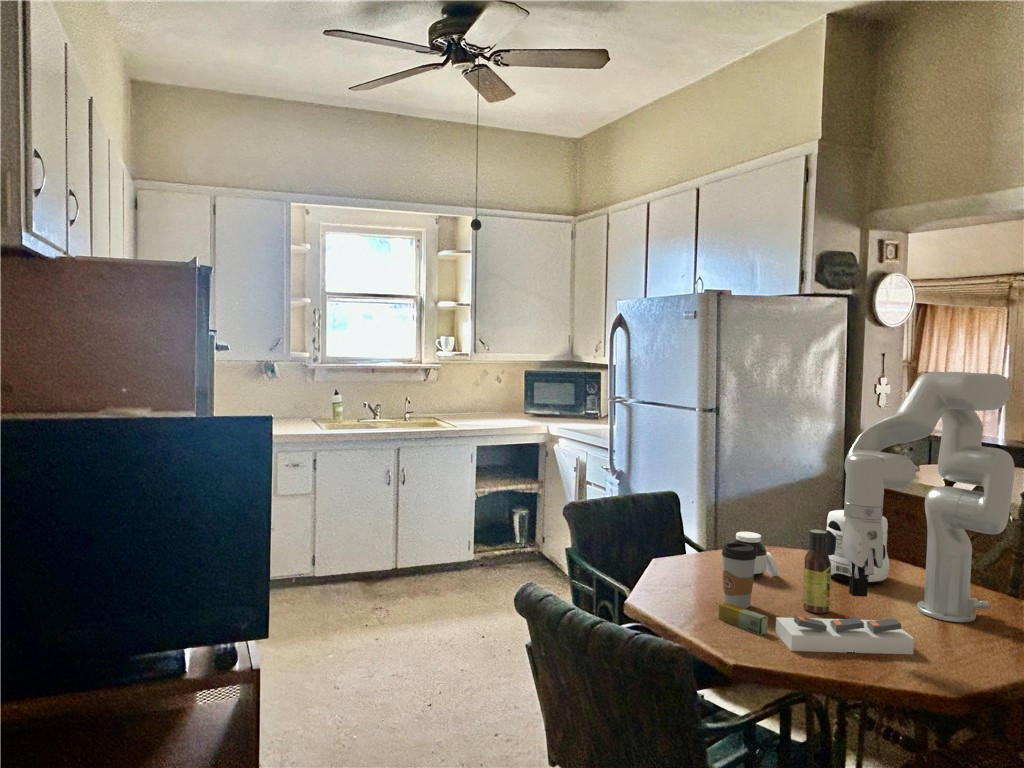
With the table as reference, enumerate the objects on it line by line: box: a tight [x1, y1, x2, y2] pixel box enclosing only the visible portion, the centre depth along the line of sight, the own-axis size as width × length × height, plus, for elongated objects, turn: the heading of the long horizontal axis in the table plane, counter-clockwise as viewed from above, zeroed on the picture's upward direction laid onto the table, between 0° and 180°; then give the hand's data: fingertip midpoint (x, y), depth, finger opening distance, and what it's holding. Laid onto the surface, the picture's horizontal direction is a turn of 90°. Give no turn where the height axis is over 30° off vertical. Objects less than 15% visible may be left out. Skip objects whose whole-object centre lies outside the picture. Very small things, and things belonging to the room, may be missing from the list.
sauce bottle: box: [802, 529, 832, 614], centre depth 180 cm, size 6×6×20 cm
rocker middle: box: [830, 617, 864, 632], centre depth 158 cm, size 6×3×1 cm, turn 88°
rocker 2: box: [867, 617, 903, 633], centre depth 158 cm, size 6×3×1 cm, turn 88°
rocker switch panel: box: [775, 617, 915, 655], centre depth 161 cm, size 26×10×4 cm, turn 89°
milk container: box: [826, 509, 890, 585], centre depth 206 cm, size 17×17×18 cm
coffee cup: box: [721, 542, 756, 610], centre depth 183 cm, size 8×8×15 cm
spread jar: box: [732, 531, 779, 579], centre depth 207 cm, size 12×11×12 cm
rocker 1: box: [793, 615, 827, 631], centre depth 159 cm, size 6×3×1 cm, turn 89°
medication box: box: [718, 602, 769, 636], centre depth 170 cm, size 12×3×4 cm, turn 37°
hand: (857, 595), depth 158 cm, fingers closed
